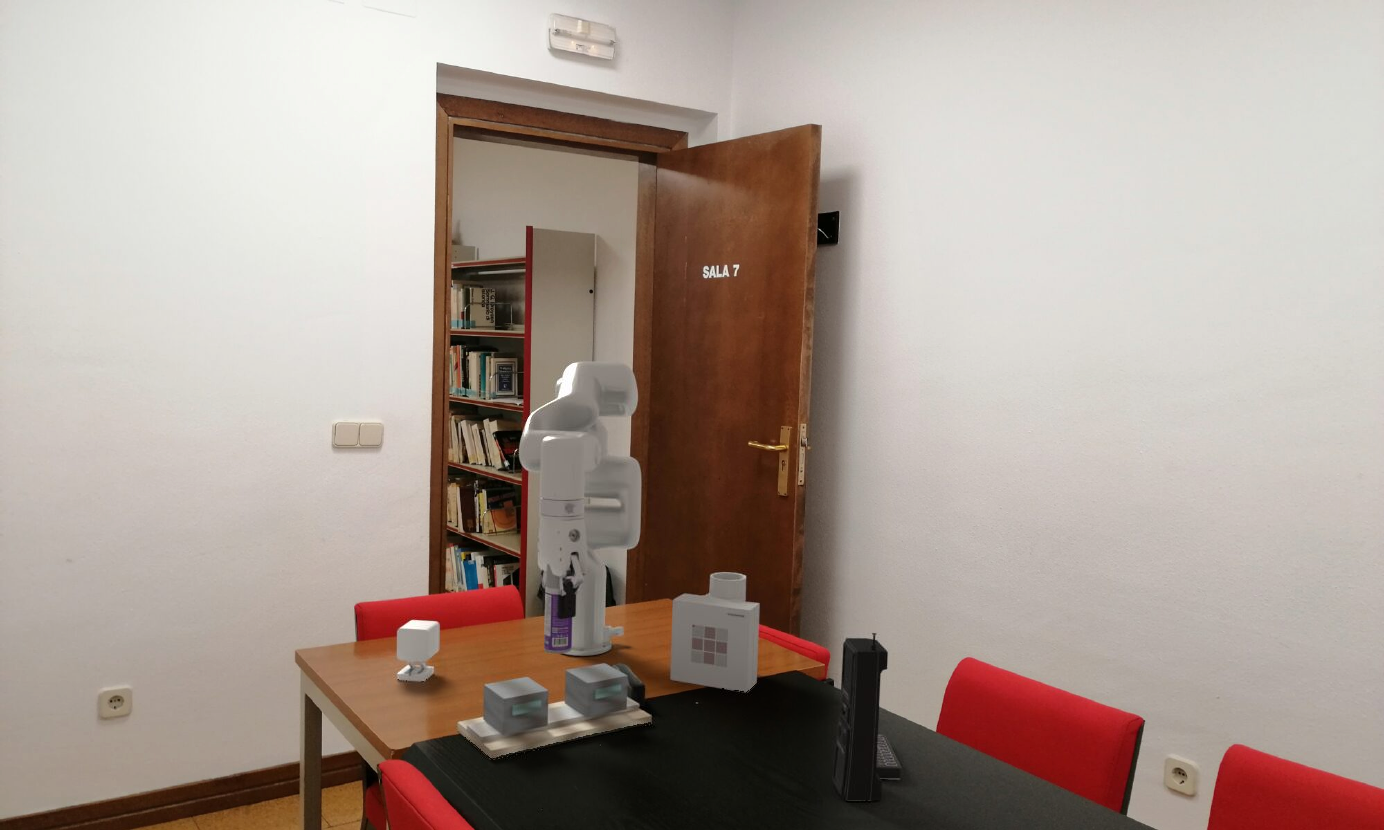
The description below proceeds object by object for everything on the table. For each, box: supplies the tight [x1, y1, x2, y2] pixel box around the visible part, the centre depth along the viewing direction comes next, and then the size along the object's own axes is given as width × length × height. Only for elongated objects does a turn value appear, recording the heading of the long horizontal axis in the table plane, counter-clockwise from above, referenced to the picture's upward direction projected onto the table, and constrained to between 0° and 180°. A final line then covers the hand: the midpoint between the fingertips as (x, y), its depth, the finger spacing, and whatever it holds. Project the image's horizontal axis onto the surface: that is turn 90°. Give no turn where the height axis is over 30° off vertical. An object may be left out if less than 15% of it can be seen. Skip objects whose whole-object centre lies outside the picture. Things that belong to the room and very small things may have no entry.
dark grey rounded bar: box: [612, 663, 647, 708], centre depth 185 cm, size 5×3×15 cm
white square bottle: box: [669, 571, 760, 693], centre depth 200 cm, size 16×19×20 cm
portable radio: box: [832, 632, 889, 801], centre depth 147 cm, size 8×6×25 cm
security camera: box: [396, 619, 441, 682], centre depth 193 cm, size 6×7×10 cm
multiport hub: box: [876, 732, 903, 779], centre depth 159 cm, size 4×14×2 cm, turn 179°
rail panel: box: [457, 662, 653, 759], centre depth 168 cm, size 30×14×8 cm, turn 125°
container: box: [543, 564, 572, 655], centre depth 167 cm, size 5×5×15 cm
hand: (558, 612), depth 167 cm, fingers closed on container, 4 cm apart
